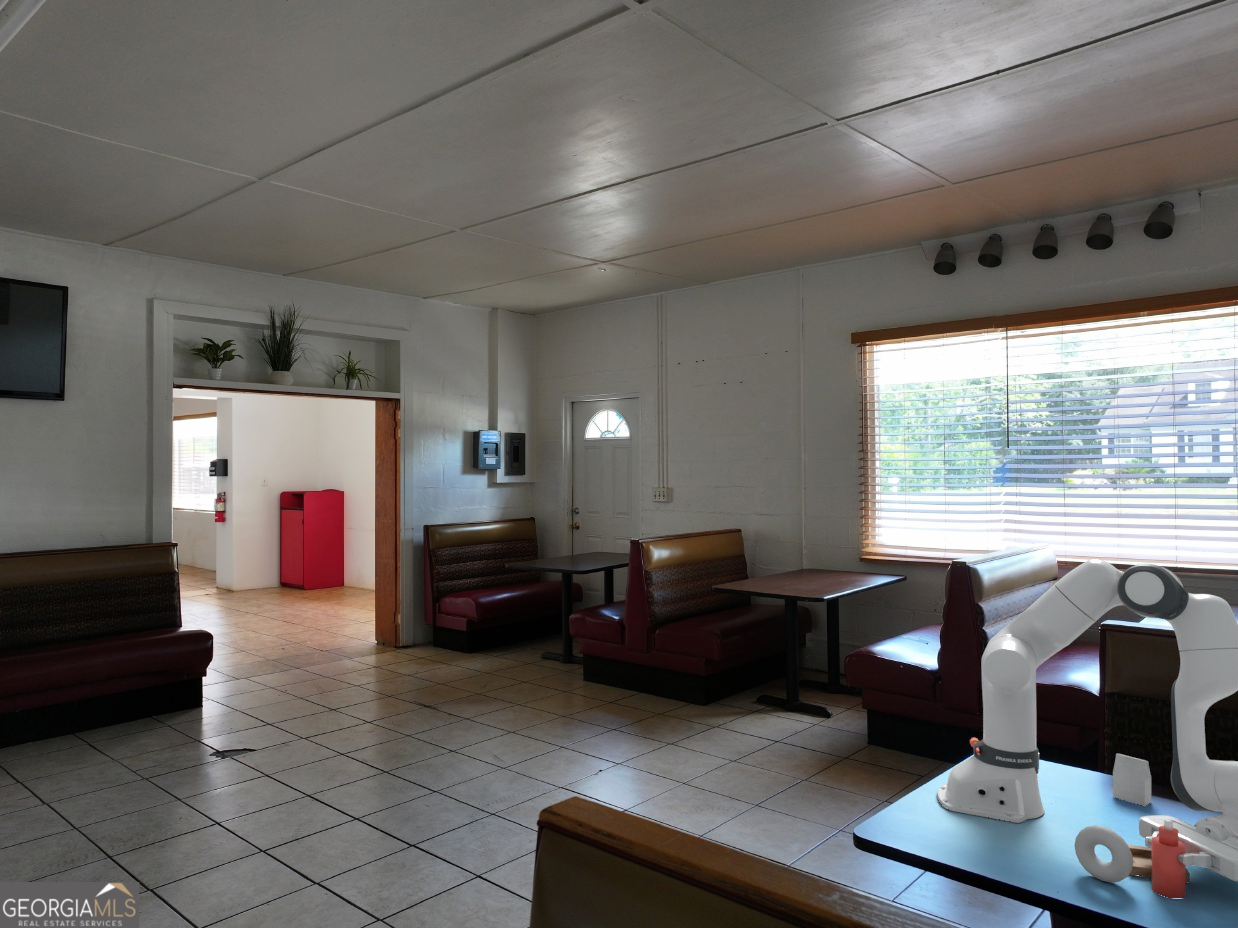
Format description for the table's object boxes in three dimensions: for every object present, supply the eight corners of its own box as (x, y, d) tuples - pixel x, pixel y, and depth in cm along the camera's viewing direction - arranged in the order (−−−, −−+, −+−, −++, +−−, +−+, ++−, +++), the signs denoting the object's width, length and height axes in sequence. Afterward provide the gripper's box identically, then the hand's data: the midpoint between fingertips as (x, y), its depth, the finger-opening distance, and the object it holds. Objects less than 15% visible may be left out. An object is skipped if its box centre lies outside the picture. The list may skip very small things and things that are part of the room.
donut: (1136, 887, 154) (1136, 833, 154) (1129, 893, 151) (1129, 838, 151) (1078, 867, 161) (1079, 815, 161) (1071, 872, 159) (1071, 820, 159)
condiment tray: (1129, 875, 158) (1129, 865, 158) (1114, 852, 168) (1114, 843, 168) (1190, 883, 155) (1190, 873, 155) (1172, 859, 165) (1172, 850, 165)
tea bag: (1144, 807, 190) (1144, 763, 190) (1112, 797, 196) (1112, 755, 196) (1151, 803, 193) (1151, 759, 193) (1119, 793, 198) (1119, 751, 198)
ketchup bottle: (1156, 896, 150) (1156, 825, 150) (1147, 883, 155) (1147, 813, 155) (1190, 901, 149) (1190, 828, 149) (1179, 887, 154) (1180, 817, 154)
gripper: (1170, 803, 166) (1115, 811, 162) (1277, 849, 146) (1218, 859, 142) (1170, 835, 166) (1115, 844, 162) (1277, 884, 146) (1218, 896, 142)
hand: (1164, 851), depth 152 cm, fingers closed on ketchup bottle, 5 cm apart
